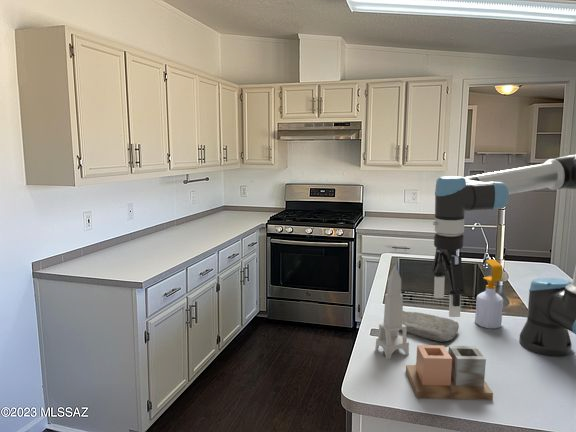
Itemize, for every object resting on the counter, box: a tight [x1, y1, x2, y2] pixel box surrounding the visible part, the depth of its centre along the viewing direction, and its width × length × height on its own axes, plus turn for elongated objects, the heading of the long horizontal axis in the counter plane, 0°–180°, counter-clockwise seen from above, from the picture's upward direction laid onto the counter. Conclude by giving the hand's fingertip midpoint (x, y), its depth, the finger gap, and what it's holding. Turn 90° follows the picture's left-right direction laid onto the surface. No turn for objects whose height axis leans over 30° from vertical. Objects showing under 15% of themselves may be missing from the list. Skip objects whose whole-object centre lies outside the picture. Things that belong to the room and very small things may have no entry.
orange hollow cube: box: [415, 344, 452, 385], centre depth 124 cm, size 8×8×8 cm
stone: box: [401, 310, 460, 342], centre depth 160 cm, size 26×4×15 cm
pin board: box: [405, 345, 494, 401], centre depth 124 cm, size 20×14×10 cm
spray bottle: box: [474, 259, 504, 330], centre depth 162 cm, size 9×9×25 cm
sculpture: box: [375, 264, 410, 360], centre depth 141 cm, size 7×8×30 cm
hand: (446, 306), depth 123 cm, fingers open, 13 cm apart
